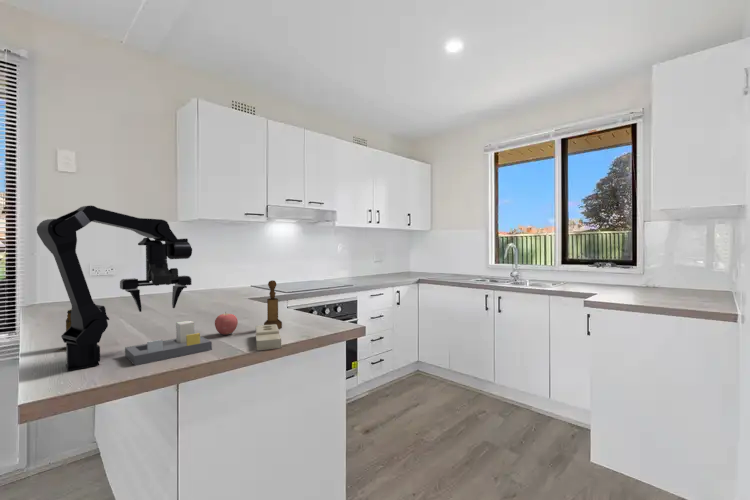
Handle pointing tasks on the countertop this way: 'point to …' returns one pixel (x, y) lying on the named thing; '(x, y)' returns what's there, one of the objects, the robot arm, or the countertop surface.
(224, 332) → the apple
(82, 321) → the robot arm
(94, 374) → the countertop surface
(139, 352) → the socket plate
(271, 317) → the wooden pepper mill
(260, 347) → the electrical outlet
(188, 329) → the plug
